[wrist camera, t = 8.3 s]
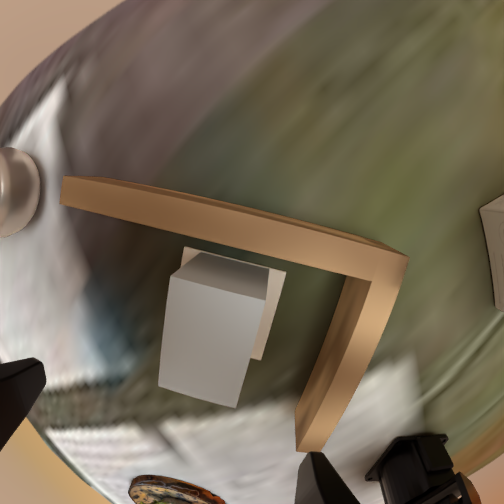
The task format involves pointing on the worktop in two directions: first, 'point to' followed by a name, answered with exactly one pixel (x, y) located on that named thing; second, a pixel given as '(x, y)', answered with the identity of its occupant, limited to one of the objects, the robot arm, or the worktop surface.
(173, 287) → the block
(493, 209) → the small box
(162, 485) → the burger
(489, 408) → the worktop surface
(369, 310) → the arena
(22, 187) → the plastic bottle
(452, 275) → the worktop surface
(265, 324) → the pad
